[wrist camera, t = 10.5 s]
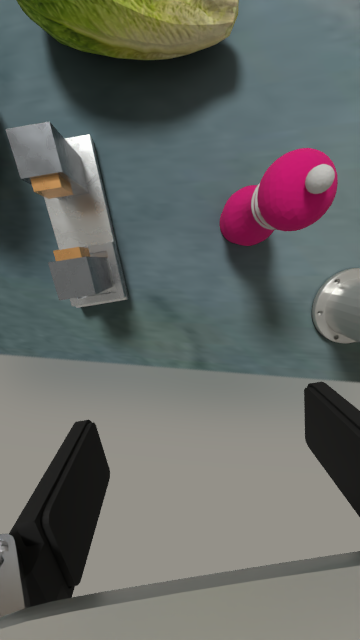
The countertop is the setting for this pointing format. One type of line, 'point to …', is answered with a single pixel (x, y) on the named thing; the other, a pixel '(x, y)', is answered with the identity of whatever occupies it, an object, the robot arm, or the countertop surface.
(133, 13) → the lettuce
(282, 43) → the countertop surface
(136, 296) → the countertop surface
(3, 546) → the robot arm
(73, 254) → the grey block
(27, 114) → the countertop surface
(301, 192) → the pepper mill
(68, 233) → the rail
